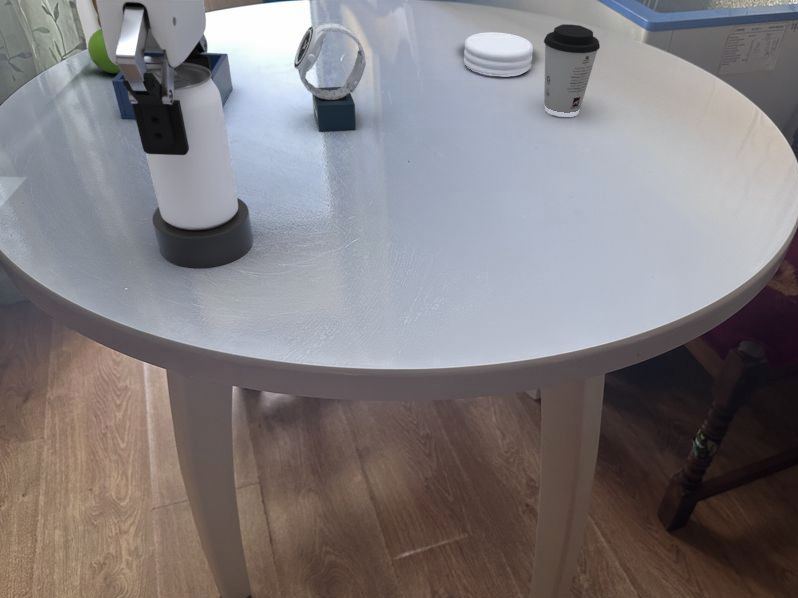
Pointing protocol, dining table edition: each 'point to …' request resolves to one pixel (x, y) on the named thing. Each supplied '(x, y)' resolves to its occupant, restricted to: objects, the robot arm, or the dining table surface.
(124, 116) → the blue open box
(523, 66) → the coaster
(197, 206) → the can
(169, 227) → the stand
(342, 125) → the watch
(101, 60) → the green maraca
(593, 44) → the coffee cup
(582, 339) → the dining table surface
